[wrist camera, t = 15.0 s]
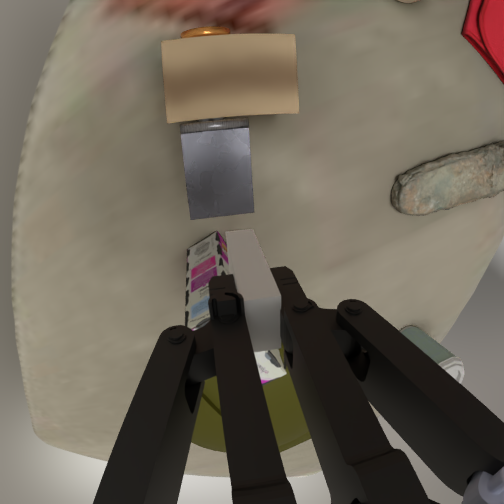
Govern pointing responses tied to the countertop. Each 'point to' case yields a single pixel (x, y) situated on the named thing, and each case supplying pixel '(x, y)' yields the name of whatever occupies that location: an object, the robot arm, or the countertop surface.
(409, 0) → the teacup with lid
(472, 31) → the red long flat piece
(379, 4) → the countertop surface
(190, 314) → the candy bar box
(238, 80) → the oak block
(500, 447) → the robot arm
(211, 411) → the spaceship
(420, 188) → the long grey stone
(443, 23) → the countertop surface
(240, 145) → the plate
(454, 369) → the disposable coffee cup
